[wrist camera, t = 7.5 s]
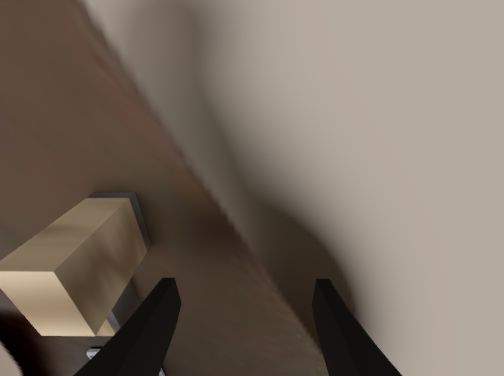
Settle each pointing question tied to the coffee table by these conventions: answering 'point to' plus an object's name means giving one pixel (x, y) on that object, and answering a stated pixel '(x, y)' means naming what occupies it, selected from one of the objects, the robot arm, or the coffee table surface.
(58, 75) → the coffee table surface
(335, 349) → the robot arm
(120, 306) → the beech tile
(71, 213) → the beech tile
